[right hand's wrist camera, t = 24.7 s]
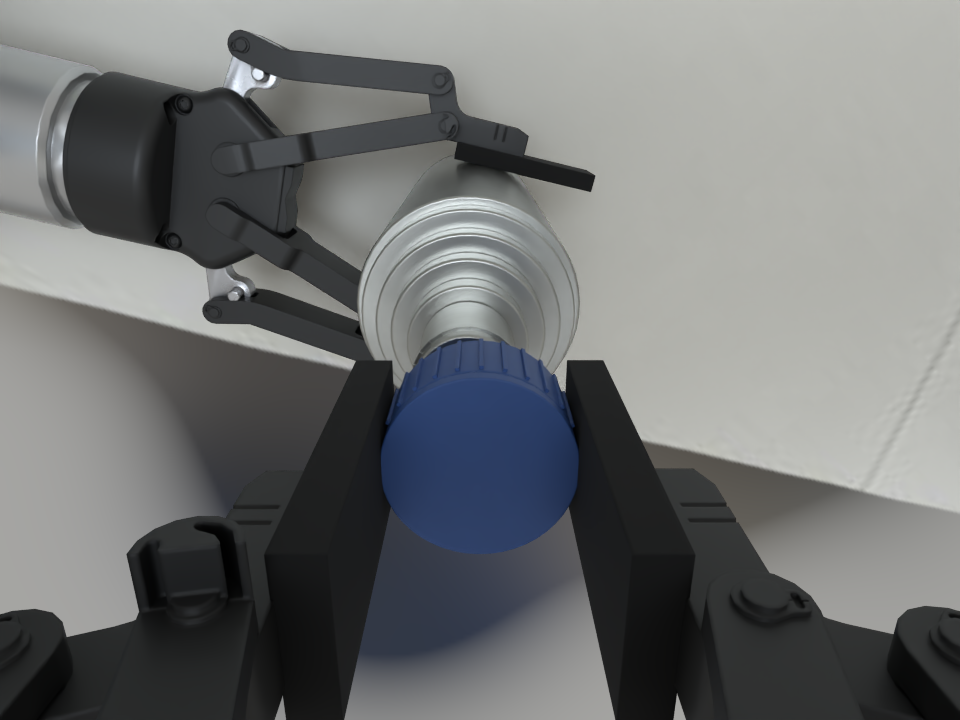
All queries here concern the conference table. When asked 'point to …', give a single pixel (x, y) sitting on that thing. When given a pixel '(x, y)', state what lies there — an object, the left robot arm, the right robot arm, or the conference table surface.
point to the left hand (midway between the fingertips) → (565, 260)
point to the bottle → (467, 271)
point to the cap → (479, 448)
